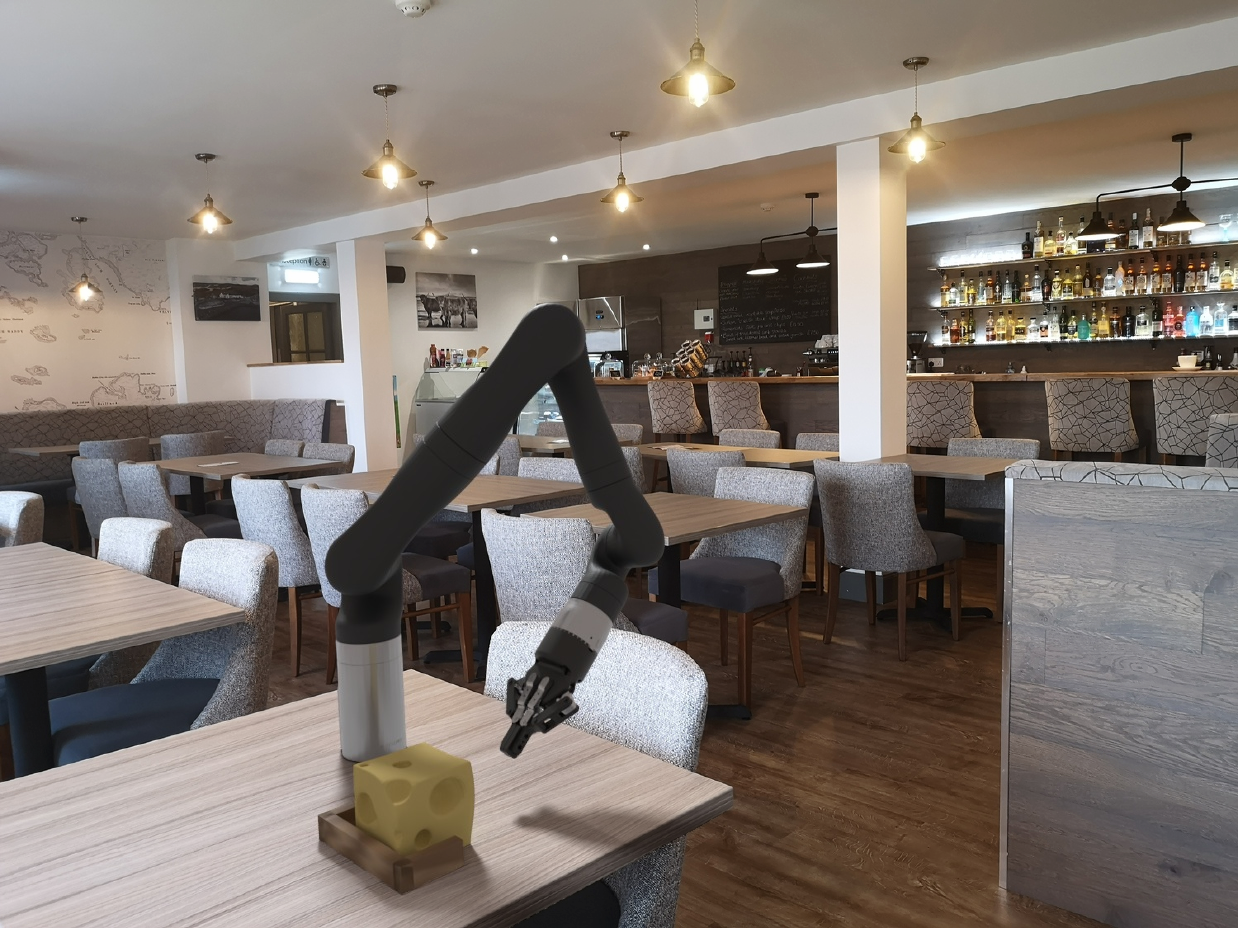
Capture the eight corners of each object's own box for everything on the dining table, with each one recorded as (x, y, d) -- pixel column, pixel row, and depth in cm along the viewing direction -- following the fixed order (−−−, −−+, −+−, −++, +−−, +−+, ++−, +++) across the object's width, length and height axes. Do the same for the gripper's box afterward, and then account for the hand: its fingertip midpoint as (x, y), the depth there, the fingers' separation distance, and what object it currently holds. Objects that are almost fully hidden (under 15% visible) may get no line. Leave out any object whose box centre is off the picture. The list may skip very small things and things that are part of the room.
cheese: (398, 877, 101) (394, 789, 100) (352, 843, 109) (347, 761, 108) (478, 843, 108) (474, 761, 108) (429, 814, 116) (425, 736, 115)
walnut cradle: (319, 838, 110) (317, 814, 110) (378, 815, 116) (377, 792, 116) (401, 894, 98) (400, 867, 97) (464, 865, 103) (462, 839, 103)
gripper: (527, 616, 129) (458, 727, 121) (593, 633, 120) (522, 754, 112) (557, 645, 133) (492, 754, 126) (623, 664, 124) (557, 782, 116)
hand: (507, 754), depth 119 cm, fingers closed
